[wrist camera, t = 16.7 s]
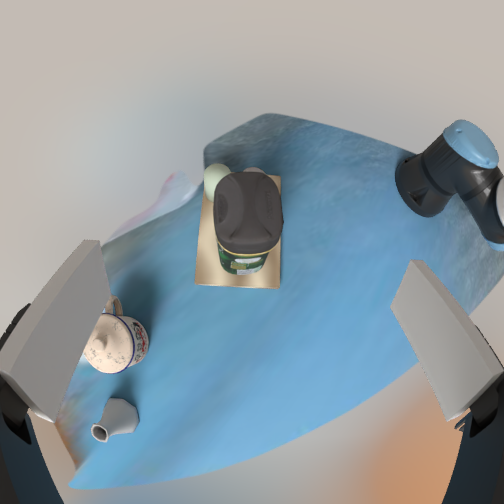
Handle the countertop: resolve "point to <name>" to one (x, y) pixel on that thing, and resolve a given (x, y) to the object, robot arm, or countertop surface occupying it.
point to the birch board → (209, 260)
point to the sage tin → (214, 178)
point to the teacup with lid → (116, 340)
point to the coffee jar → (246, 220)
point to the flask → (115, 420)
